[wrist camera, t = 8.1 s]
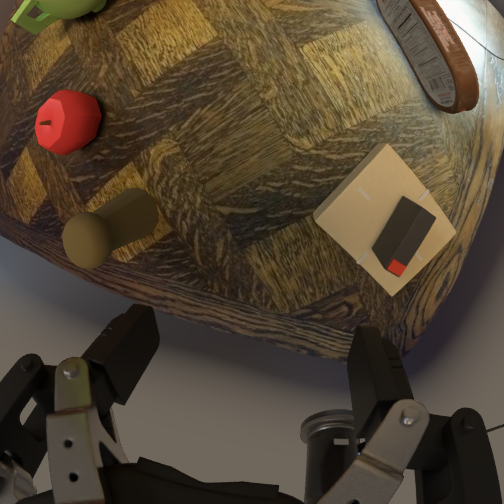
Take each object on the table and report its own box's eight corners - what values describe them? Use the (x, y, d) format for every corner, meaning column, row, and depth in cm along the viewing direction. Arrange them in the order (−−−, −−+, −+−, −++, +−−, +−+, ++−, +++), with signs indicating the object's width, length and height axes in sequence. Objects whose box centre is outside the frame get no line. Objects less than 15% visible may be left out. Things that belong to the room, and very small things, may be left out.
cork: (135, 246, 32) (80, 289, 22) (108, 207, 31) (45, 238, 21) (167, 219, 30) (112, 259, 20) (138, 177, 29) (72, 199, 19)
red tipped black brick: (402, 195, 22) (423, 207, 18) (416, 204, 22) (438, 218, 18) (370, 248, 25) (384, 270, 20) (384, 256, 25) (400, 279, 21)
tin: (450, 111, 20) (495, 108, 13) (429, 118, 21) (473, 115, 14) (384, -6, 16) (408, -42, 9) (361, -2, 17) (380, -41, 9)
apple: (110, 148, 28) (63, 155, 20) (66, 154, 29) (22, 164, 21) (111, 84, 24) (65, 77, 17) (66, 97, 25) (22, 97, 18)
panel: (444, 223, 25) (458, 232, 22) (384, 284, 29) (391, 298, 26) (378, 142, 24) (388, 142, 21) (311, 213, 27) (313, 222, 25)
